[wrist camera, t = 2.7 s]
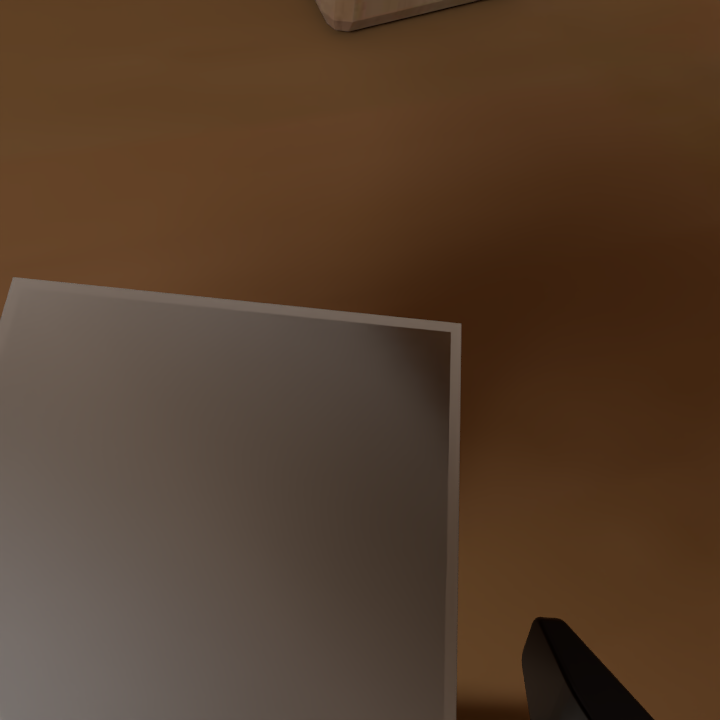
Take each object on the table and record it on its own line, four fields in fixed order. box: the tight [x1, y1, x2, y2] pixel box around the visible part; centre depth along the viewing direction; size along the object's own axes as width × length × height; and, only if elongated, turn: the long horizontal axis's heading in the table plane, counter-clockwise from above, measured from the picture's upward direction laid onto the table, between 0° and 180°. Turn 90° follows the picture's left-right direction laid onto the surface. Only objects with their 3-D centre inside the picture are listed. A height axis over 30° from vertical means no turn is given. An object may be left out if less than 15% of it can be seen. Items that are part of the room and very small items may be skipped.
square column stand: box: [0, 277, 461, 720], centre depth 11 cm, size 7×7×14 cm
